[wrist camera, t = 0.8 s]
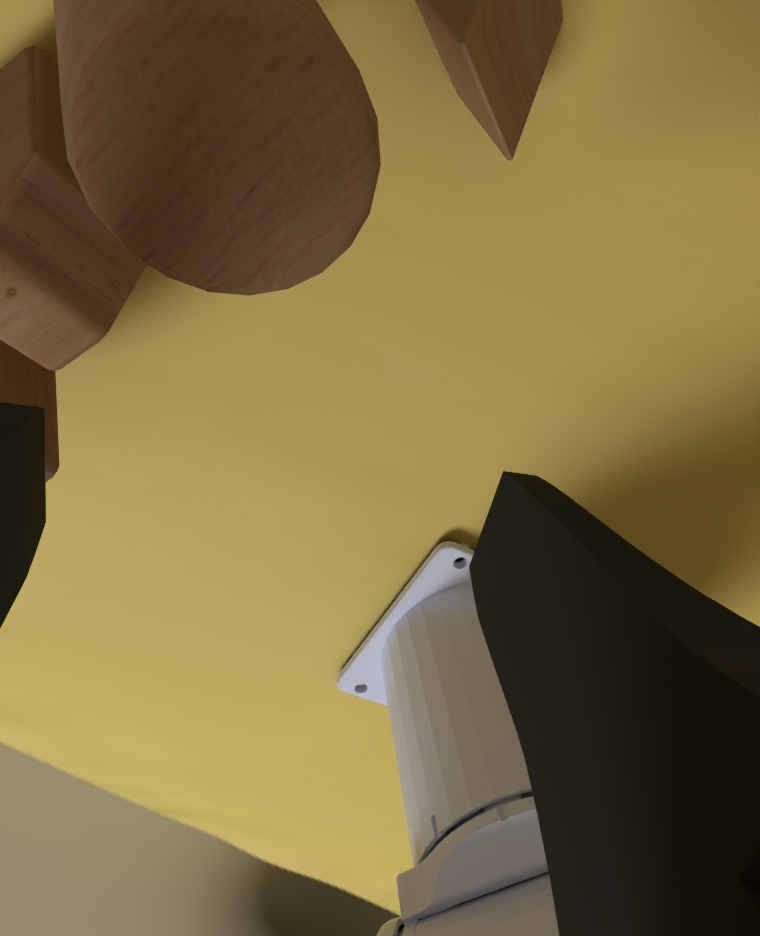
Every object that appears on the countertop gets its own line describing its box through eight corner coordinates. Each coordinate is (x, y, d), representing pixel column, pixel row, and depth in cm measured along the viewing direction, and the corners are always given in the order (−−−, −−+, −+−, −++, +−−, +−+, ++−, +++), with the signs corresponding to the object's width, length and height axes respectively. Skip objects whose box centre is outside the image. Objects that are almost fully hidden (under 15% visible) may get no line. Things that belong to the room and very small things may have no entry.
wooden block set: (30, 356, 23) (34, 651, 17) (-299, 148, 16) (-487, 524, 10) (532, -8, 18) (772, 216, 13) (381, -506, 12) (753, -526, 6)
